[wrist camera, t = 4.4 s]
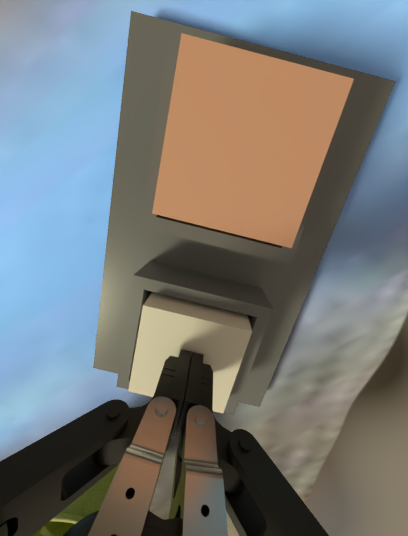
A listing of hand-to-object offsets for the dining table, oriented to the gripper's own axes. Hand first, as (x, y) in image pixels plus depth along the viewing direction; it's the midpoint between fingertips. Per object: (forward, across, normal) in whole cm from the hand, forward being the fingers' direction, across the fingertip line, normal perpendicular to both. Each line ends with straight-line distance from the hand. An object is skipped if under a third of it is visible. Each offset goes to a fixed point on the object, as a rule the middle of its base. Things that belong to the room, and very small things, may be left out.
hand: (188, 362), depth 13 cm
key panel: (+6, 0, -6) cm, 9 cm away
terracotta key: (+2, 0, -12) cm, 12 cm away
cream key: (+3, 0, 0) cm, 3 cm away
